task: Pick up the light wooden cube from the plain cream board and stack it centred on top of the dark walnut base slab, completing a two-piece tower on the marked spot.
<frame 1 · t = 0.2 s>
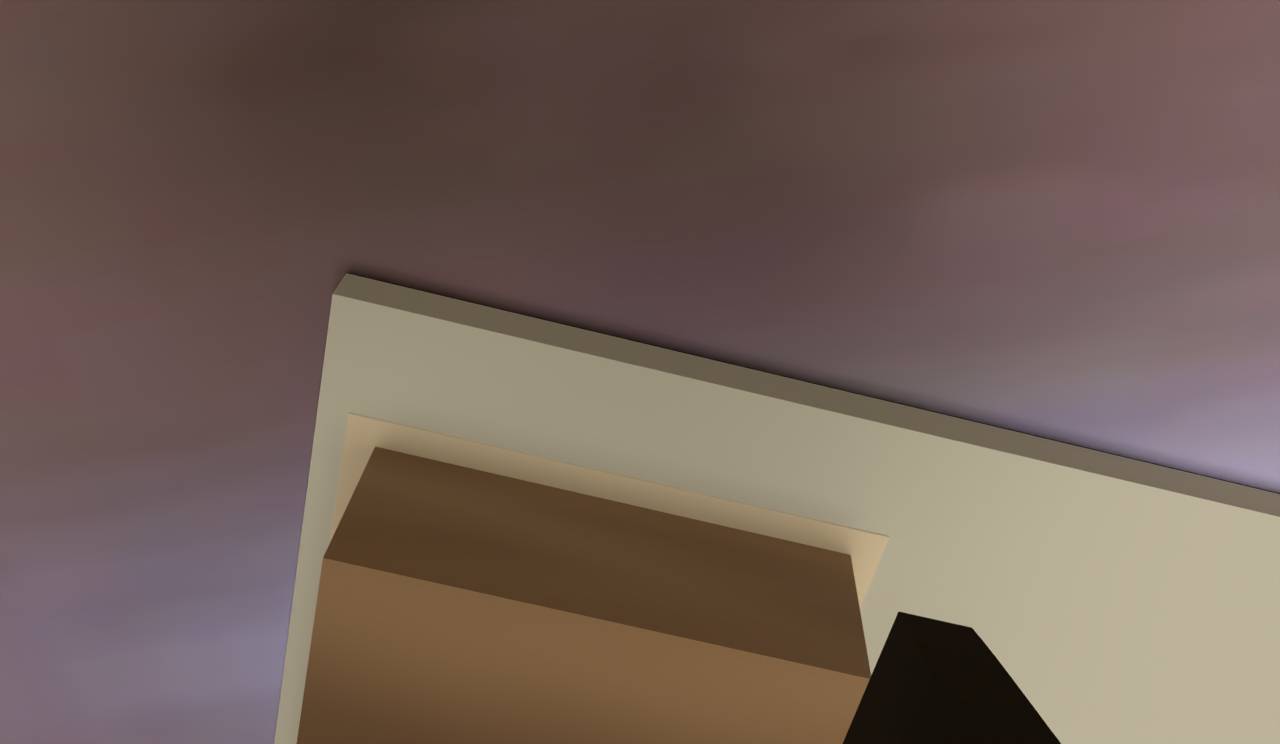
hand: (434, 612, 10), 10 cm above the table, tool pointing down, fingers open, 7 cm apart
walnut slab: (566, 681, 22), point 1 cm above the table, touching plain cream board
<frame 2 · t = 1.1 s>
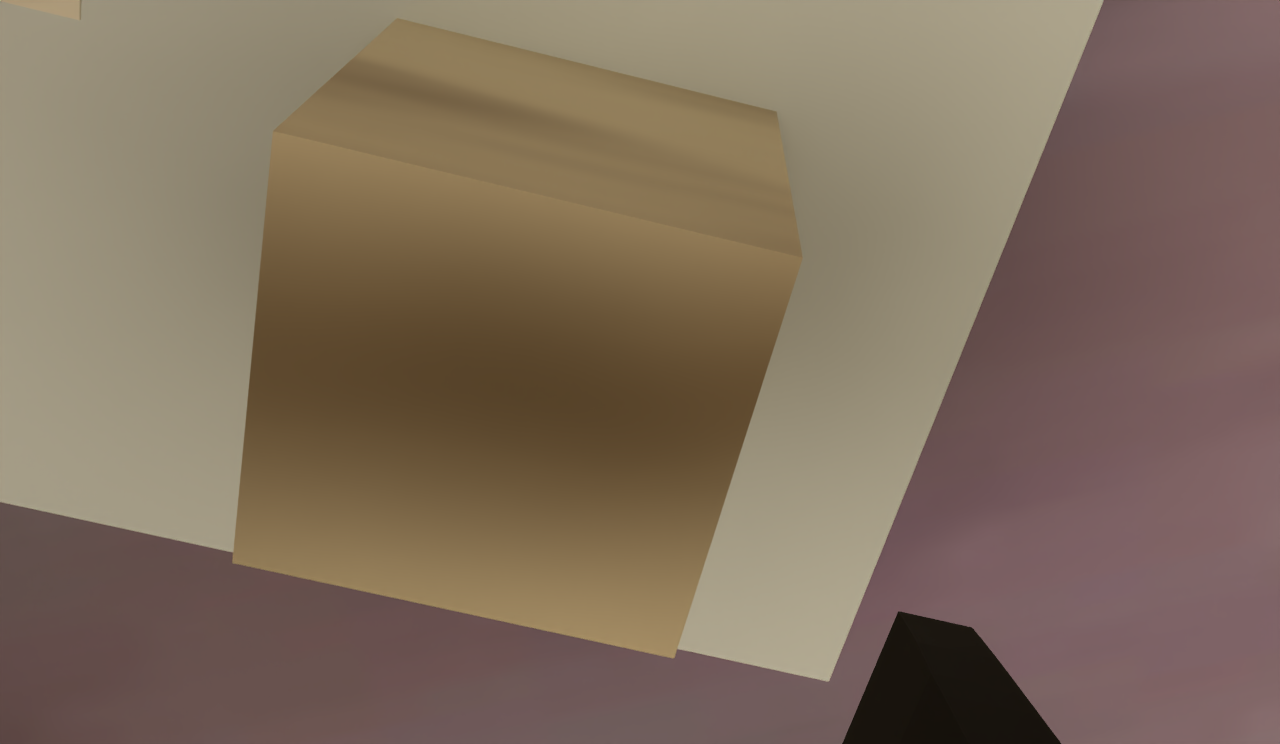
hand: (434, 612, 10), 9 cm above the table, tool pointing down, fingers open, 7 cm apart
light wooden cube: (550, 241, 17), point 1 cm above the table, touching plain cream board
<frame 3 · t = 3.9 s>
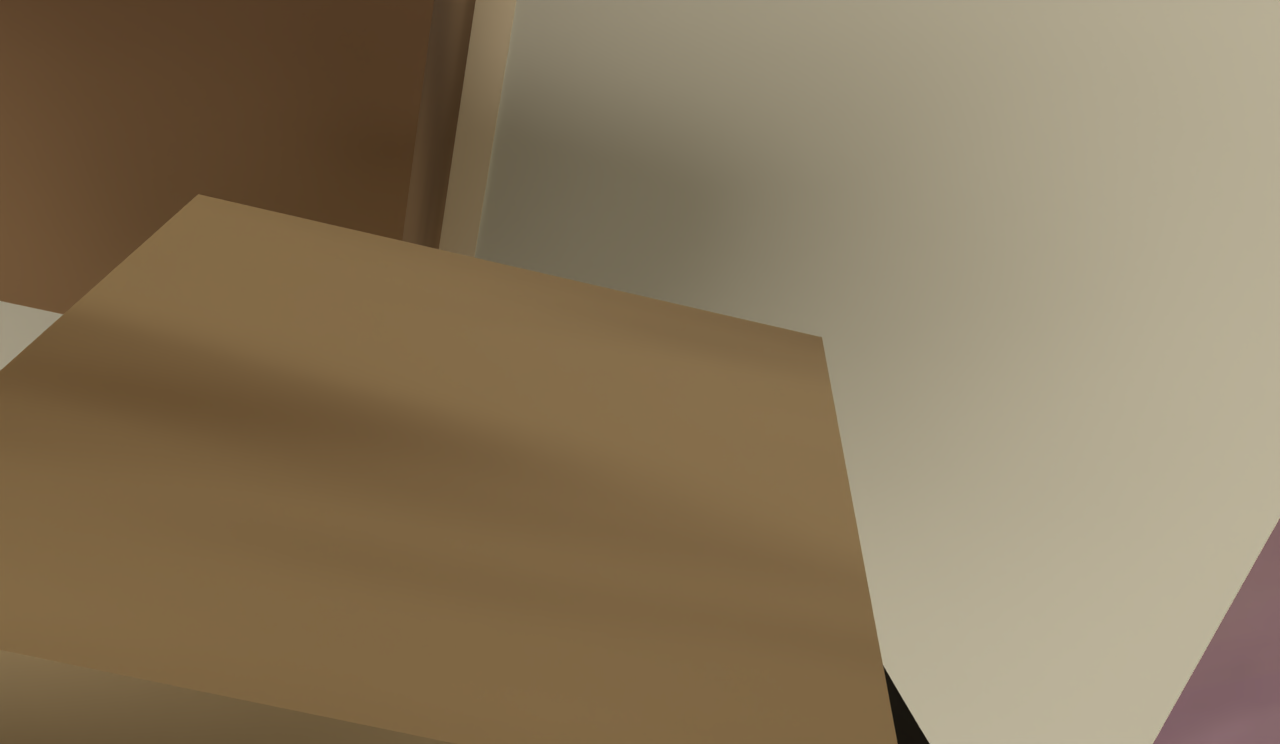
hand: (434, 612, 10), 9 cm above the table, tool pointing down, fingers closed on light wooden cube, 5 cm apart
plain cream board: (591, 226, 18), on the table
light wooden cube: (465, 522, 11), point 8 cm above the table, touching gripper
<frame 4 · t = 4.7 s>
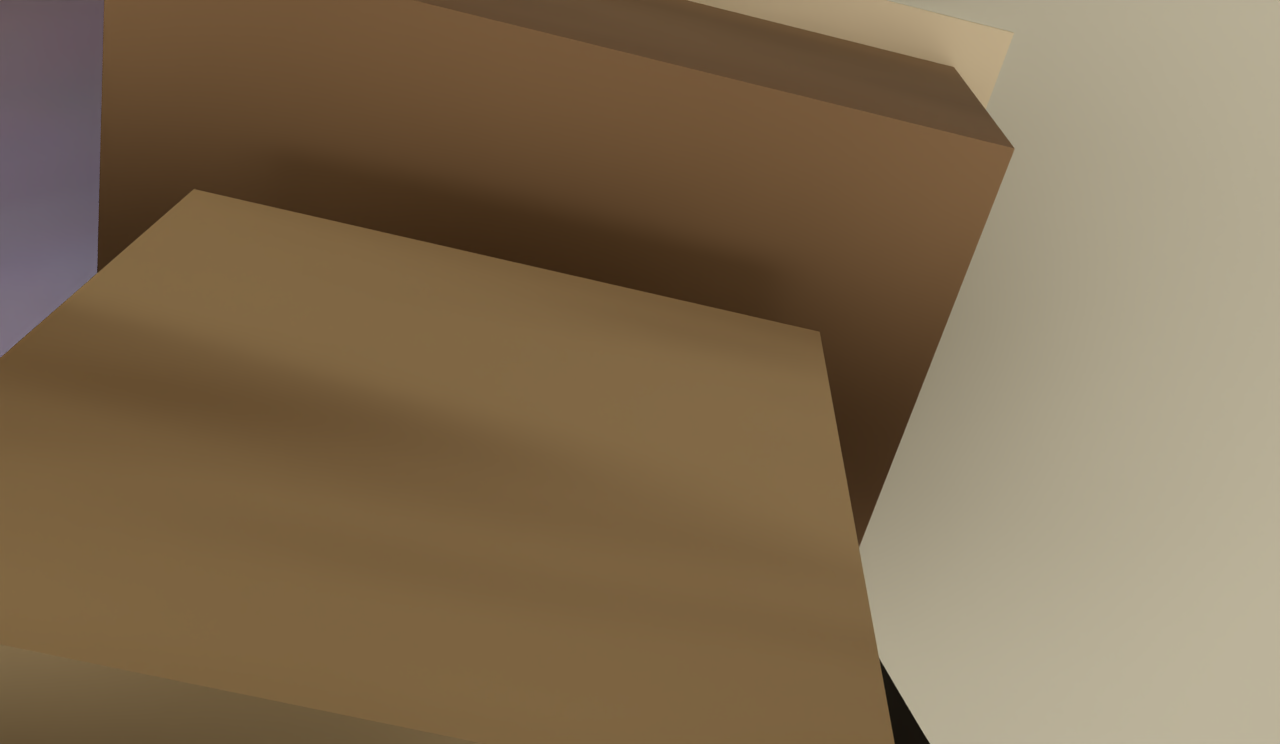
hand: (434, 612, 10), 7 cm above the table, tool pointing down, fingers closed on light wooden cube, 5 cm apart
plain cream board: (908, 561, 17), on the table
walnut slab: (530, 306, 15), point 1 cm above the table, touching plain cream board
light wooden cube: (462, 518, 11), point 6 cm above the table, touching gripper
when the fingers open (6 cm above the table, at t = 5.4 s): light wooden cube stays where it is, resting on walnut slab.
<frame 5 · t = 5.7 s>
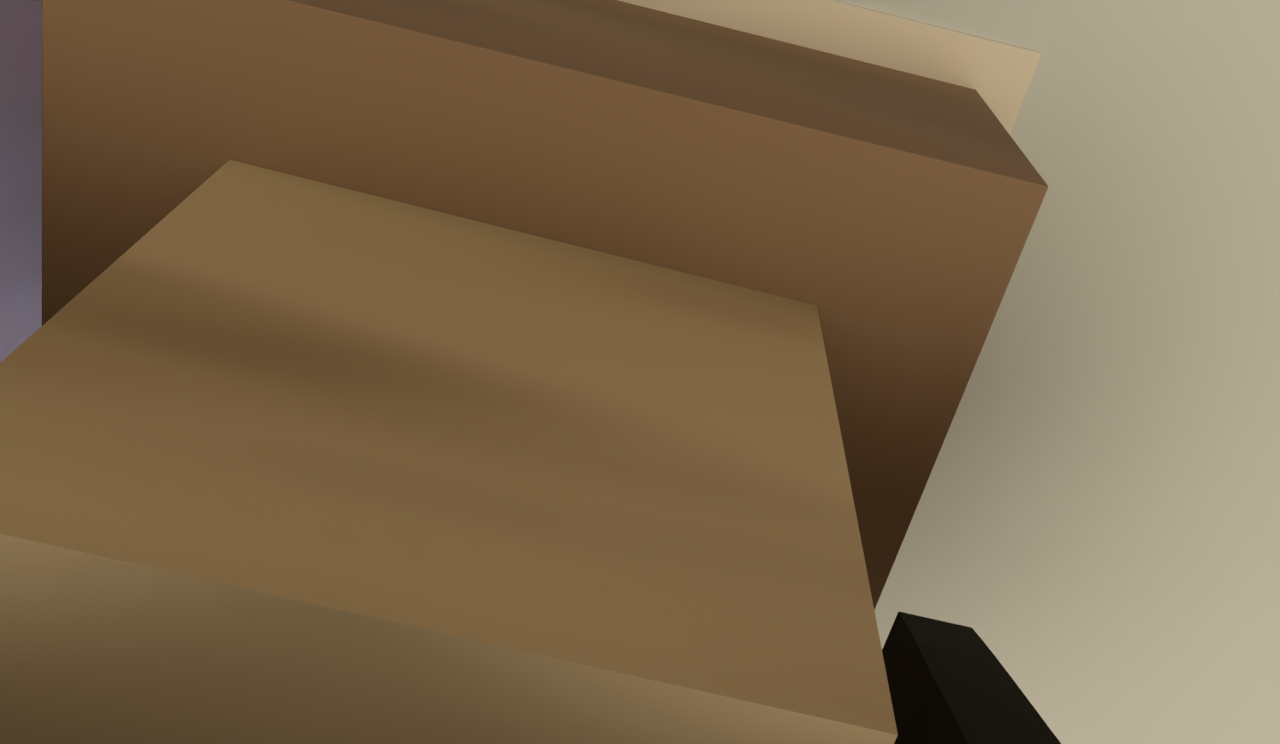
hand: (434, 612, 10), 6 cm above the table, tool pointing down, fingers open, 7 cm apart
plain cream board: (921, 608, 16), on the table
walnut slab: (518, 343, 14), point 1 cm above the table, touching plain cream board, light wooden cube
light wooden cube: (474, 478, 11), point 4 cm above the table, touching walnut slab
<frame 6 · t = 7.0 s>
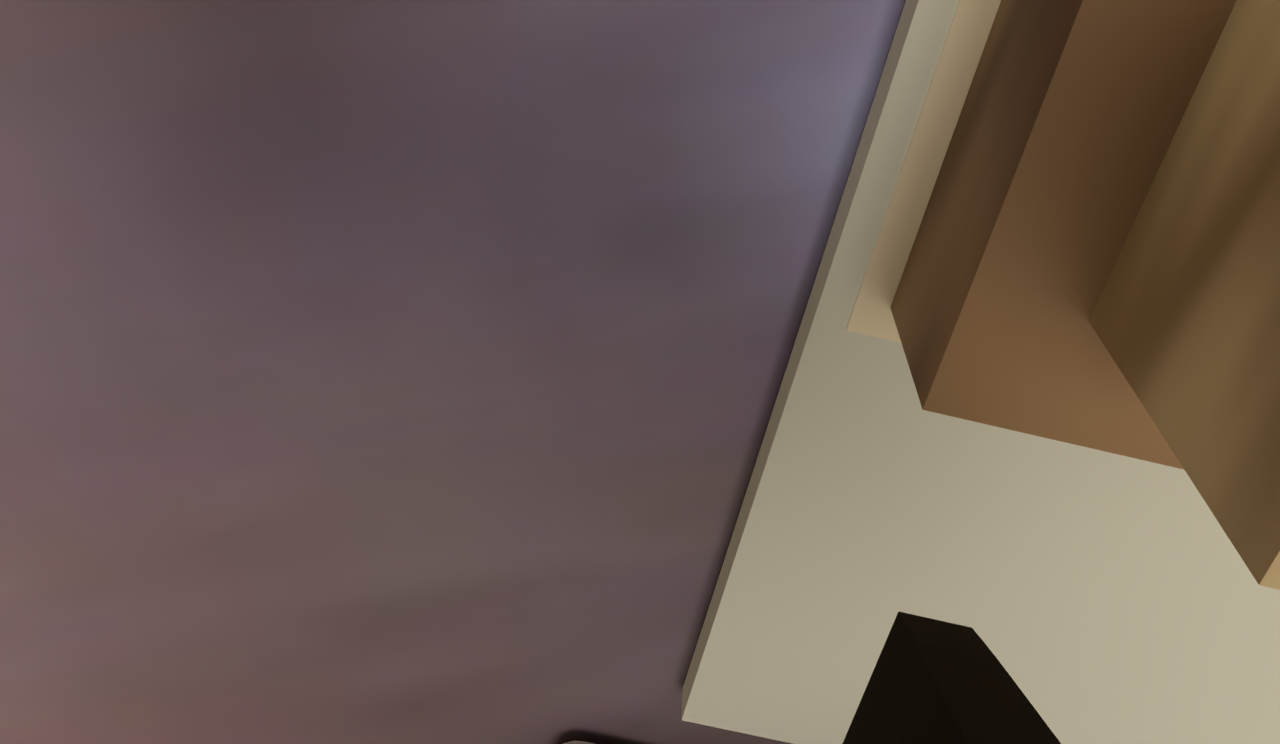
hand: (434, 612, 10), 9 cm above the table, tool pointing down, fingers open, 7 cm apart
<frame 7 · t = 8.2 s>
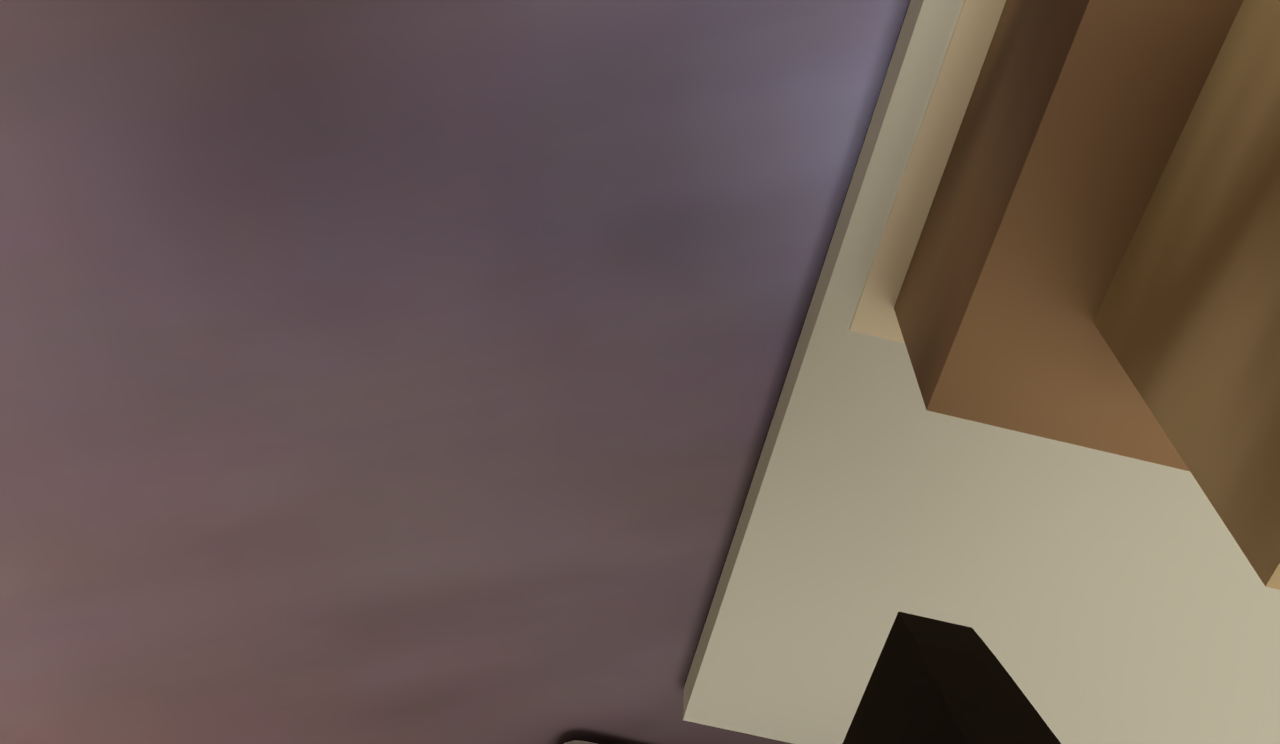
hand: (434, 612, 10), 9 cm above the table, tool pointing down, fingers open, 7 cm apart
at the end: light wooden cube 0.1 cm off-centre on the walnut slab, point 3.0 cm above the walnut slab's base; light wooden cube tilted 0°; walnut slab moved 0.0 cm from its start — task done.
